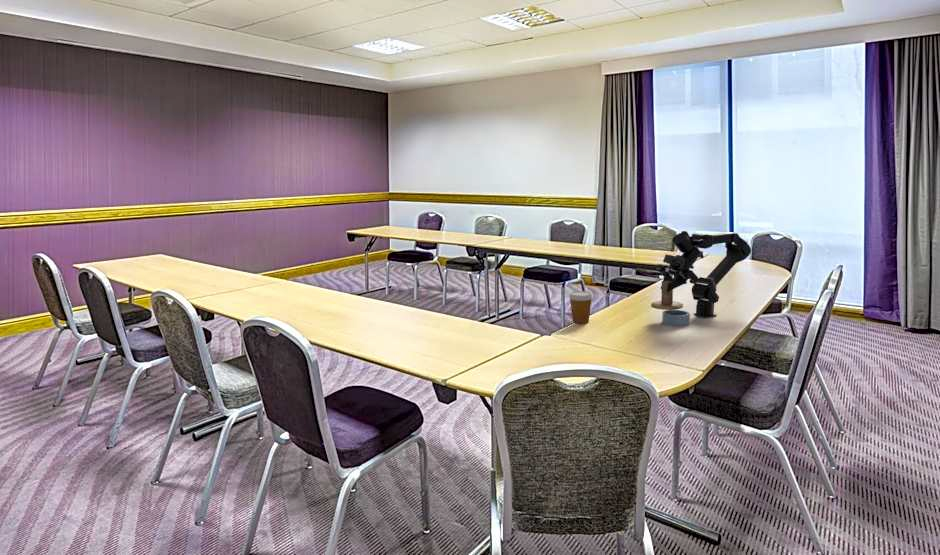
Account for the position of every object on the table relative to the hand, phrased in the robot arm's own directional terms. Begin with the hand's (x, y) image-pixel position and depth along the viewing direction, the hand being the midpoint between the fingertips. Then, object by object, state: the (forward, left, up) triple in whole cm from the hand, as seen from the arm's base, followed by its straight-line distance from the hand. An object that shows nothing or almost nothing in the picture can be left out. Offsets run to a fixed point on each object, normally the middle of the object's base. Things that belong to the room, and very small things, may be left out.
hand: (664, 290), depth 236 cm
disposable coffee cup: (+28, -17, -13) cm, 35 cm away
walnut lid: (-1, 0, -7) cm, 7 cm away
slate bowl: (-4, +2, -13) cm, 14 cm away
